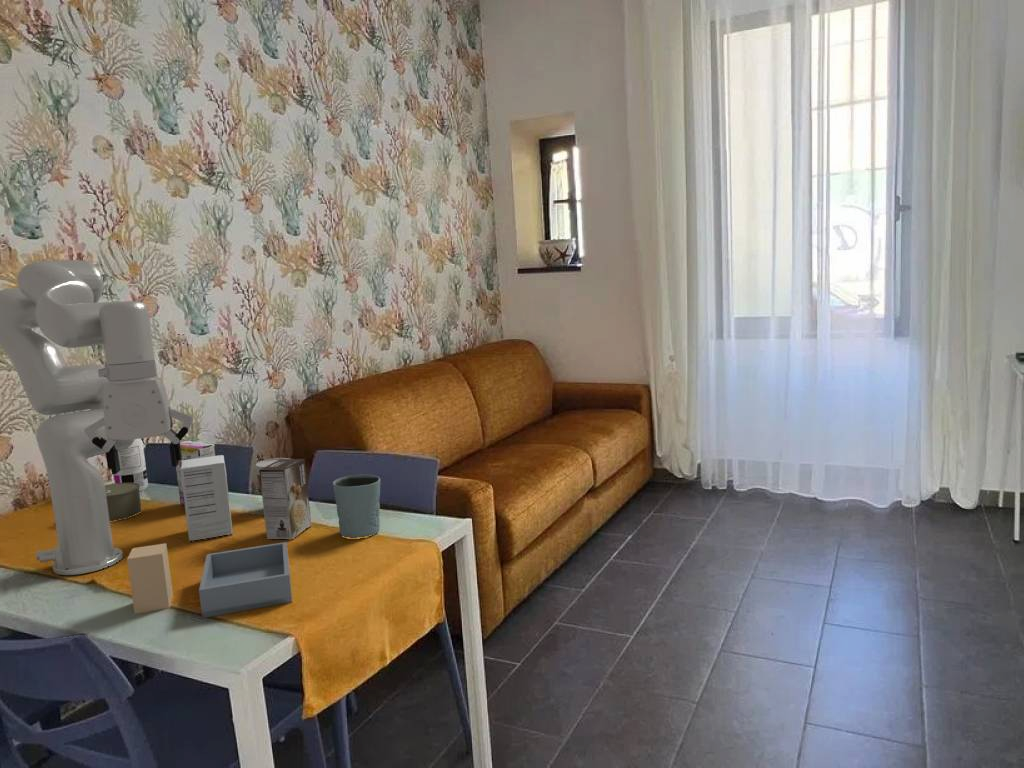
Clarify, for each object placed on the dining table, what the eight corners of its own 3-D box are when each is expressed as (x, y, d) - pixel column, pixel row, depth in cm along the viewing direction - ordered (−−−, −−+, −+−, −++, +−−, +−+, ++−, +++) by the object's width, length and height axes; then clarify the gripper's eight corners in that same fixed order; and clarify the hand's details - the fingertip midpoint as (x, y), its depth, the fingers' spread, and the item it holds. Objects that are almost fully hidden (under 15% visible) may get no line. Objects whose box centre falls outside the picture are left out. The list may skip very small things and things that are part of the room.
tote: (202, 618, 124) (198, 590, 123) (209, 579, 140) (206, 554, 140) (292, 601, 128) (289, 574, 128) (289, 566, 145) (286, 541, 144)
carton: (134, 613, 127) (127, 559, 125) (139, 601, 132) (132, 548, 131) (169, 607, 129) (162, 553, 127) (172, 595, 134) (166, 543, 132)
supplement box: (233, 535, 165) (225, 462, 162) (188, 543, 161) (179, 468, 159) (231, 523, 173) (224, 453, 171) (189, 530, 170) (180, 459, 167)
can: (150, 513, 185) (147, 486, 184) (100, 526, 176) (96, 499, 175) (130, 505, 193) (127, 480, 192) (81, 518, 184) (77, 491, 183)
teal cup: (328, 534, 162) (323, 482, 160) (366, 521, 169) (362, 471, 167) (355, 544, 155) (350, 489, 153) (393, 530, 162) (389, 478, 160)
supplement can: (109, 494, 204) (102, 442, 201) (129, 486, 212) (122, 435, 210) (135, 494, 202) (128, 441, 200) (154, 486, 210) (148, 435, 208)
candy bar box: (179, 505, 190) (171, 444, 187) (196, 500, 194) (189, 439, 191) (205, 511, 184) (198, 447, 181) (223, 505, 188) (215, 443, 185)
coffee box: (286, 526, 169) (279, 458, 167) (312, 526, 168) (305, 458, 165) (265, 540, 160) (258, 469, 158) (292, 541, 159) (285, 469, 157)
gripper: (70, 380, 121) (86, 480, 123) (182, 369, 126) (196, 466, 128) (83, 376, 128) (97, 471, 131) (189, 366, 133) (201, 458, 135)
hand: (146, 468), depth 129 cm, fingers open, 9 cm apart
